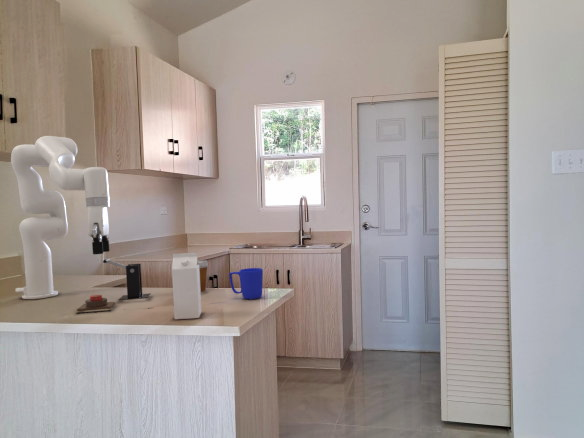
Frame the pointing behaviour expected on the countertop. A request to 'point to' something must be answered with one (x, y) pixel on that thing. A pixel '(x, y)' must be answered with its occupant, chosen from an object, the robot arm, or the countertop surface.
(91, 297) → the button
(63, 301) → the countertop surface
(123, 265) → the lever
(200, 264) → the disposable coffee cup
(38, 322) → the countertop surface
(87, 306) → the button block
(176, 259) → the milk carton
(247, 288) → the mug
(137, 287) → the black lever base
